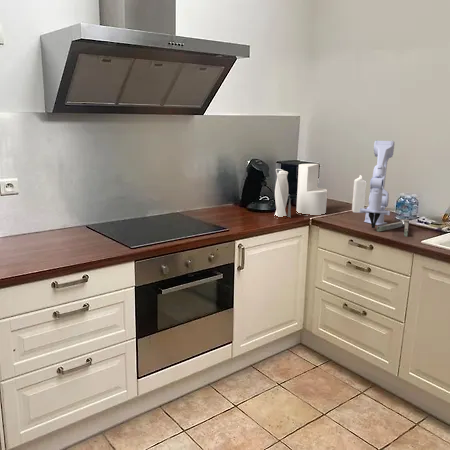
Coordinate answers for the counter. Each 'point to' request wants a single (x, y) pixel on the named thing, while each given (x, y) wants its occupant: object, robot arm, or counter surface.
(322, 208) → the white stepped block
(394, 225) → the bar
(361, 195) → the milk
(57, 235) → the counter surface
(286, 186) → the skyscraper
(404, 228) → the arm
